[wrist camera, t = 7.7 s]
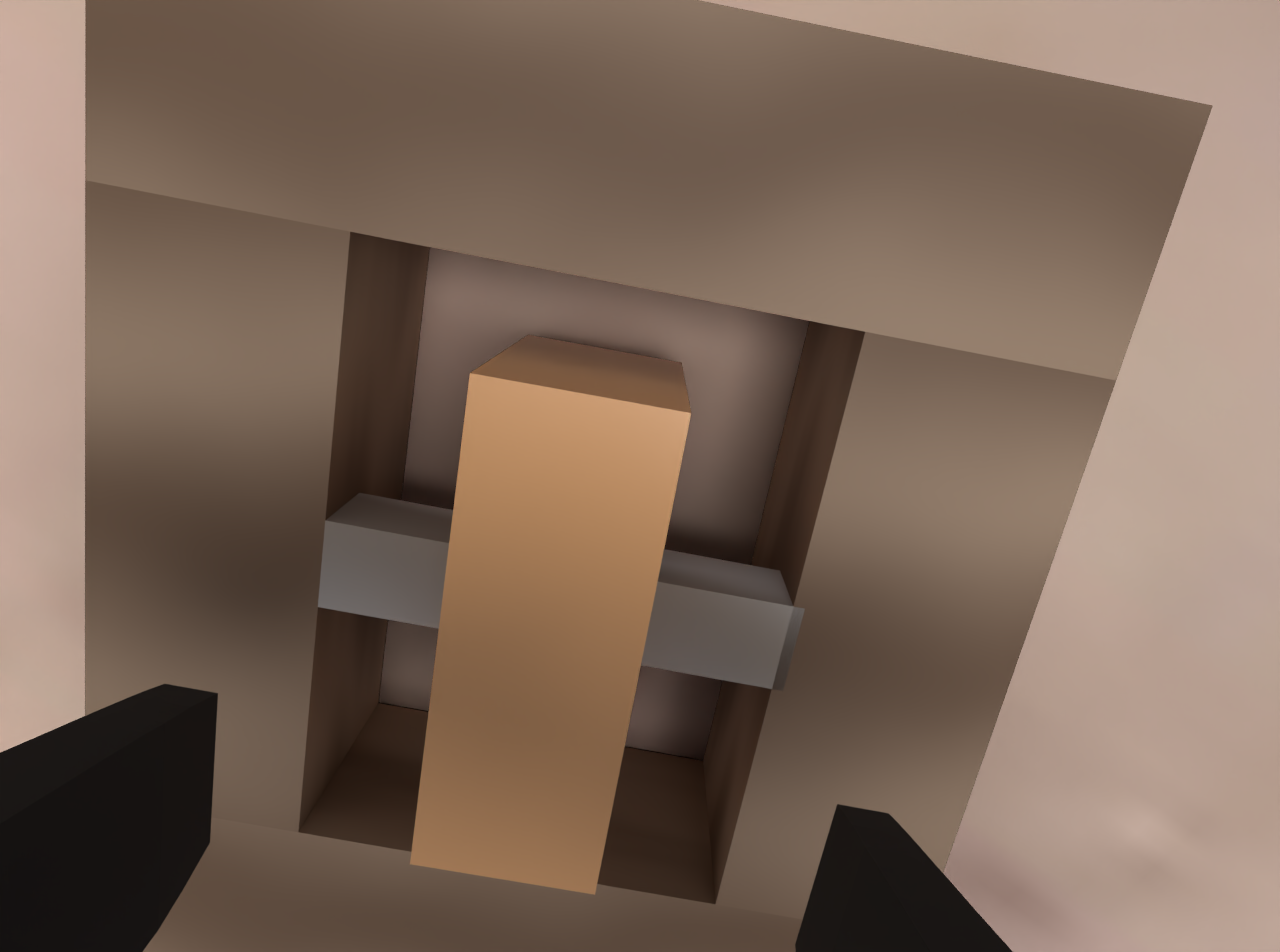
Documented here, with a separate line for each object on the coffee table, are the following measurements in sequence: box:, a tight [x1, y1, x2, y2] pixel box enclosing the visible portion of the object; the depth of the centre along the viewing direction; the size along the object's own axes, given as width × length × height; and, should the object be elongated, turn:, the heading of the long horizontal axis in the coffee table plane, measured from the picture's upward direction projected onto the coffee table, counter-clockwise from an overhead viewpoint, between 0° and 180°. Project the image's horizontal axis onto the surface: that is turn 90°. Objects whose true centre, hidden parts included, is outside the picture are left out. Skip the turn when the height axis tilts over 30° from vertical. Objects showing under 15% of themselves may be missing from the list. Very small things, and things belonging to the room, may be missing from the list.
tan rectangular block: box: [410, 335, 691, 895], centre depth 14 cm, size 8×3×5 cm, turn 170°
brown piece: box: [85, 0, 1212, 952], centre depth 16 cm, size 19×16×4 cm
